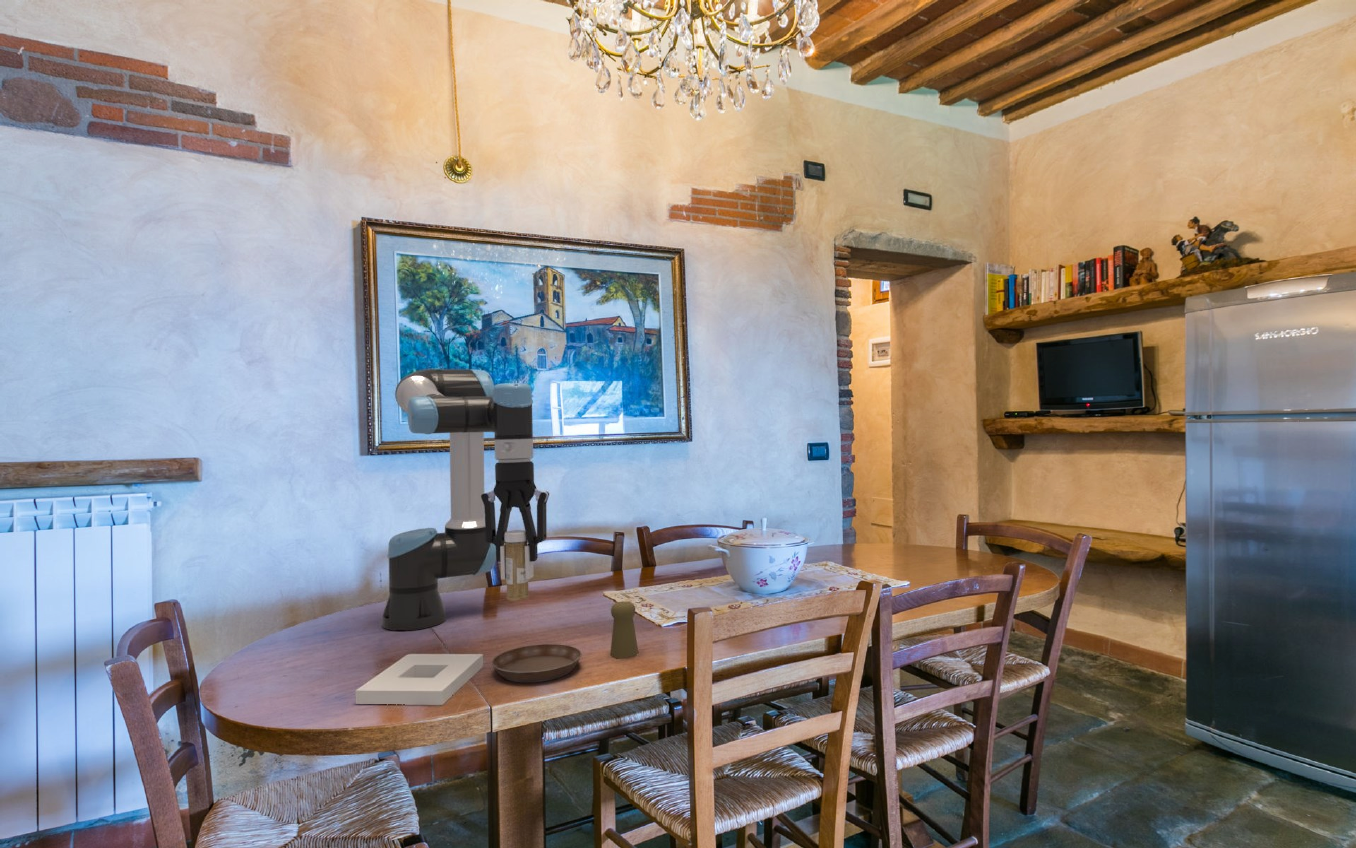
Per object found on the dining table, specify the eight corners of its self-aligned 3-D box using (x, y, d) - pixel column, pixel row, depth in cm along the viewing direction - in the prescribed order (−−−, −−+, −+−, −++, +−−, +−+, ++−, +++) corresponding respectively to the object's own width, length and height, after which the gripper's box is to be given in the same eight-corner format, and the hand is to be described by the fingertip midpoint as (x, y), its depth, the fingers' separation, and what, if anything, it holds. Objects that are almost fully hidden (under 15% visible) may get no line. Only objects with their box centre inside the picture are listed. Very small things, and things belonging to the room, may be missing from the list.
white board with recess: (408, 666, 144) (408, 654, 144) (483, 666, 143) (483, 654, 143) (355, 704, 125) (355, 690, 125) (442, 705, 123) (441, 691, 123)
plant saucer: (486, 665, 145) (486, 650, 145) (569, 652, 152) (569, 638, 152) (499, 694, 128) (499, 677, 128) (592, 678, 135) (592, 662, 135)
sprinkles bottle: (529, 600, 137) (527, 532, 137) (505, 602, 136) (503, 533, 136) (529, 595, 142) (527, 529, 142) (506, 597, 141) (504, 530, 141)
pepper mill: (616, 660, 145) (615, 607, 145) (605, 652, 150) (604, 601, 150) (643, 655, 147) (641, 603, 147) (631, 647, 153) (630, 597, 153)
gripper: (464, 462, 136) (467, 582, 136) (551, 460, 134) (554, 581, 134) (479, 461, 144) (482, 574, 144) (561, 459, 142) (564, 573, 142)
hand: (517, 577), depth 139 cm, fingers closed on sprinkles bottle, 4 cm apart
